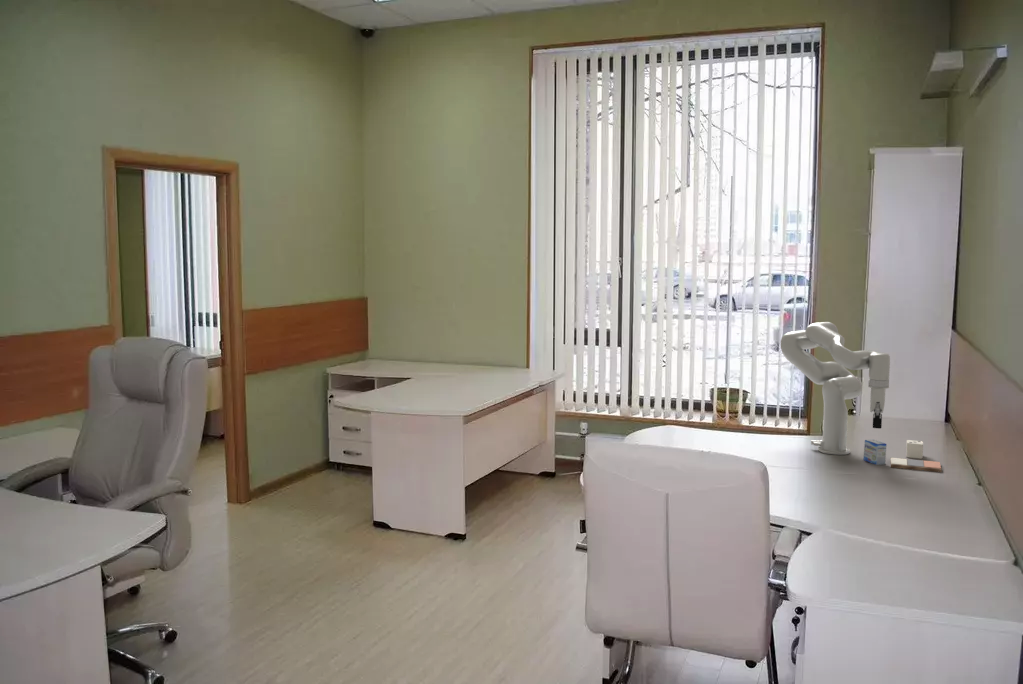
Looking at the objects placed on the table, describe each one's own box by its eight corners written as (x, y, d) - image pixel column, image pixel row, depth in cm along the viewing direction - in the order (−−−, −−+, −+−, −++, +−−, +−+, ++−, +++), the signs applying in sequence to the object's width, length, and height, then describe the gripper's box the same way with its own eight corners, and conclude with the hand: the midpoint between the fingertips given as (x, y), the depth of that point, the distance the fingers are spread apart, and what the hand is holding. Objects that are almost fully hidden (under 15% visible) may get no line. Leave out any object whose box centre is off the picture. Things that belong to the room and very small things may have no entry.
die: (906, 457, 355) (907, 442, 355) (906, 453, 361) (906, 439, 360) (922, 458, 353) (923, 444, 352) (921, 455, 359) (922, 441, 358)
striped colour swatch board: (890, 467, 340) (890, 464, 339) (890, 460, 351) (890, 456, 350) (941, 472, 332) (941, 468, 332) (939, 464, 343) (939, 461, 343)
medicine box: (863, 460, 351) (864, 439, 350) (872, 459, 352) (873, 438, 351) (876, 465, 343) (877, 444, 342) (885, 464, 344) (886, 443, 343)
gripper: (869, 380, 353) (867, 421, 355) (868, 386, 337) (866, 429, 339) (888, 381, 350) (887, 422, 352) (889, 387, 334) (887, 430, 336)
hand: (877, 425), depth 345 cm, fingers open, 9 cm apart
